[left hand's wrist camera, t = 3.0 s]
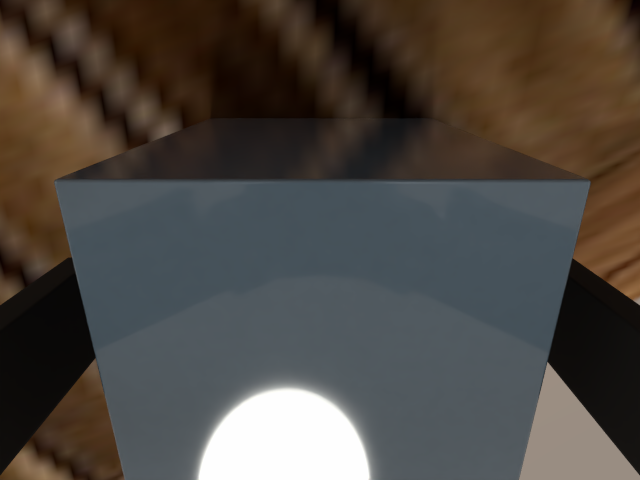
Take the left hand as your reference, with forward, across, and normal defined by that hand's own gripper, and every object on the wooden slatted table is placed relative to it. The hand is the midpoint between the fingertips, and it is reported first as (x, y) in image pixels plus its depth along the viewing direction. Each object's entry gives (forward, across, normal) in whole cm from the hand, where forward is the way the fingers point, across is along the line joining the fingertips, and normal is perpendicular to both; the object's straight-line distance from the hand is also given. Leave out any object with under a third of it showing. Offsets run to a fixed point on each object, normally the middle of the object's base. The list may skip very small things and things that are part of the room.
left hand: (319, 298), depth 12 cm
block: (+6, 0, 0) cm, 6 cm away
